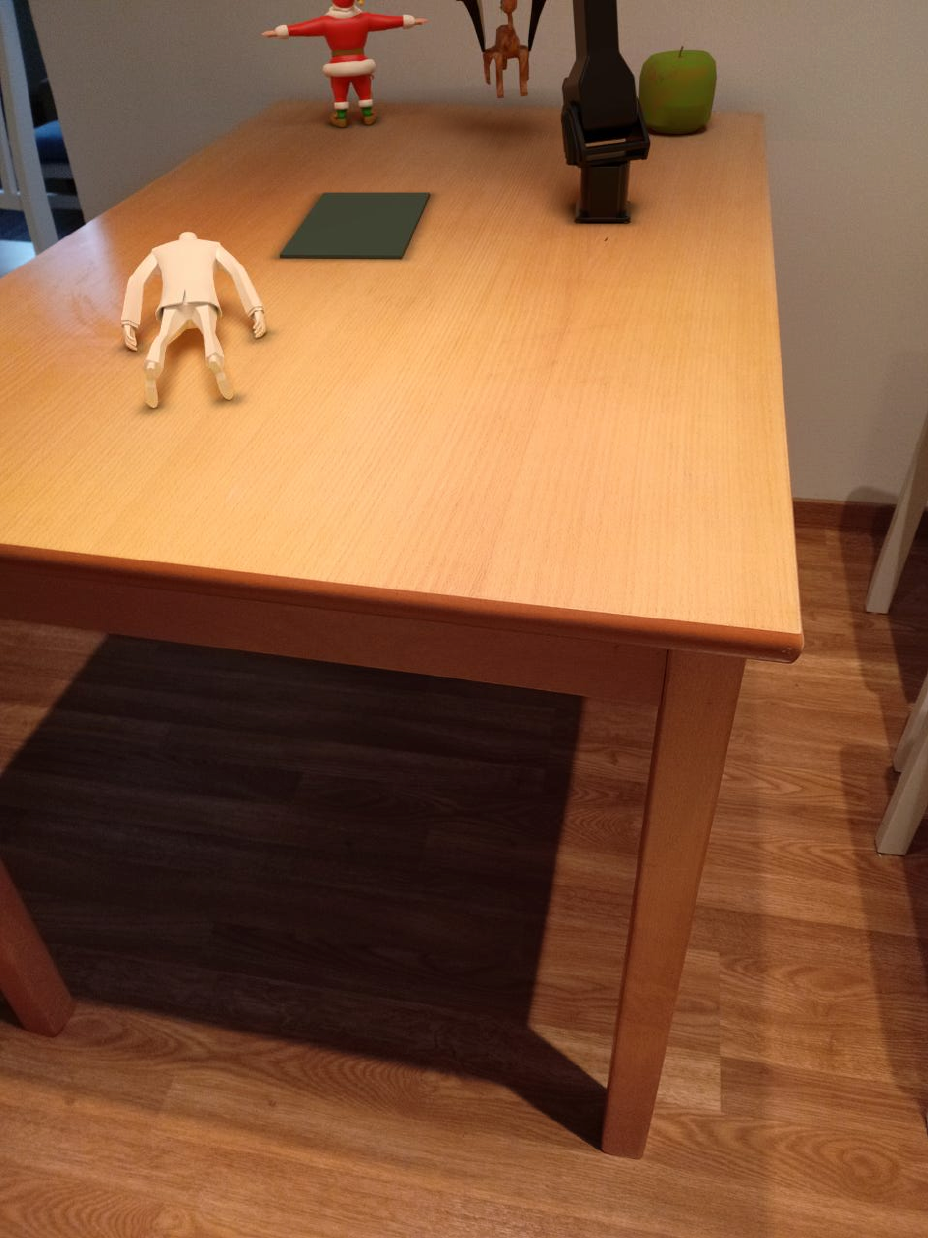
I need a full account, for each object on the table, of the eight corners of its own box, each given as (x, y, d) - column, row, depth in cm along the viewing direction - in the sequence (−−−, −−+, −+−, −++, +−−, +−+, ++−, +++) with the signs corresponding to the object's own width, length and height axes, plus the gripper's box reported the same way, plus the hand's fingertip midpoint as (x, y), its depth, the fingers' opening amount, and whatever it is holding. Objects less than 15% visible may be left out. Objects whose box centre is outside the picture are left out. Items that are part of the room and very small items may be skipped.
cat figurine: (480, 75, 145) (474, -35, 136) (524, 71, 145) (521, -40, 136) (489, 103, 131) (484, -18, 123) (538, 98, 131) (536, -23, 123)
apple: (689, 115, 150) (698, 34, 143) (725, 132, 143) (735, 47, 136) (623, 124, 148) (628, 42, 141) (655, 142, 140) (662, 56, 133)
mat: (402, 258, 109) (401, 255, 109) (279, 257, 111) (279, 254, 110) (430, 195, 126) (430, 192, 125) (323, 195, 127) (323, 192, 127)
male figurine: (274, 413, 87) (263, 269, 103) (263, 353, 82) (253, 212, 98) (117, 431, 85) (131, 282, 101) (96, 371, 81) (114, 224, 97)
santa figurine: (429, 111, 158) (422, -27, 146) (436, 120, 154) (429, -21, 141) (273, 127, 154) (253, -14, 142) (277, 136, 150) (255, -8, 138)
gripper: (423, -79, 120) (431, 64, 130) (576, -85, 118) (572, 62, 128) (436, -88, 129) (442, 48, 139) (579, -93, 127) (575, 45, 137)
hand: (506, 51), depth 135 cm, fingers closed on cat figurine, 6 cm apart
